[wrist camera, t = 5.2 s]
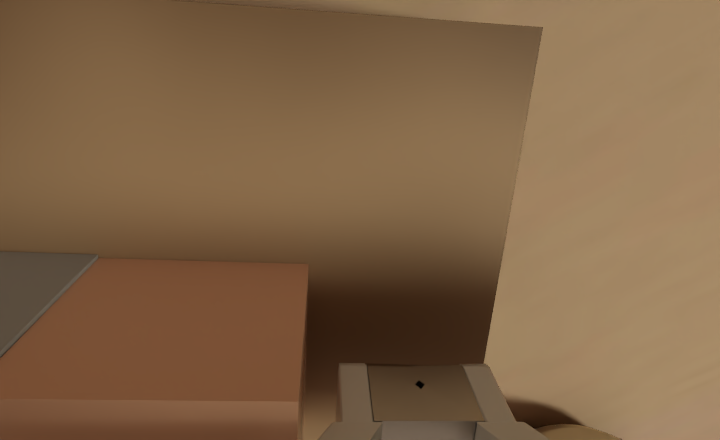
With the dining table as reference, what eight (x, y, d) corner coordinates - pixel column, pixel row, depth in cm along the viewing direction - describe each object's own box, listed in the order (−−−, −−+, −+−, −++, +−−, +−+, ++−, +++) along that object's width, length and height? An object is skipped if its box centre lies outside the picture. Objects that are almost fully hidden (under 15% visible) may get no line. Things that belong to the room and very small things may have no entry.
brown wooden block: (28, -6, 13) (-144, -23, 8) (468, 26, 14) (542, 27, 9) (85, 395, 17) (-7, 537, 12) (420, 400, 18) (452, 534, 13)
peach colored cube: (98, 257, 10) (-40, 398, 6) (308, 263, 10) (298, 401, 7) (119, 425, 11) (17, 622, 8) (304, 425, 12) (293, 615, 8)
